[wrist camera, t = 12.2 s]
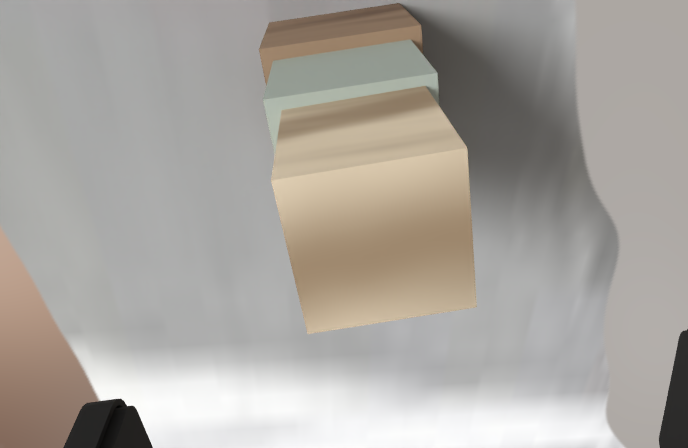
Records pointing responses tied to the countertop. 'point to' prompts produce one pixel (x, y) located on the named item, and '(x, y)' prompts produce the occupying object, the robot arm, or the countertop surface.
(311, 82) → the sage top block
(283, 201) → the ash block
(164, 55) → the countertop surface
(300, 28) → the walnut base block
